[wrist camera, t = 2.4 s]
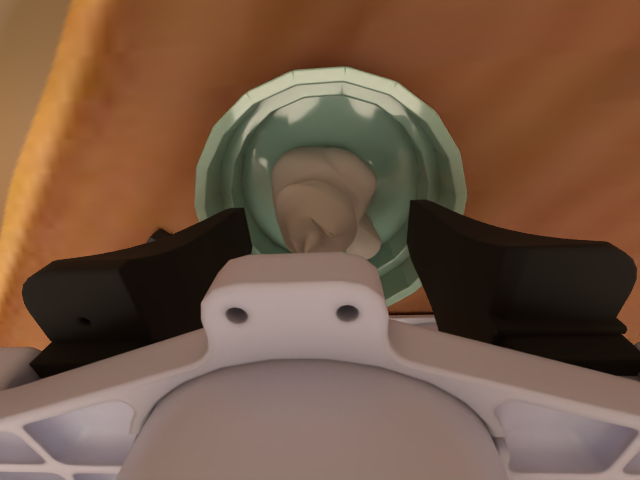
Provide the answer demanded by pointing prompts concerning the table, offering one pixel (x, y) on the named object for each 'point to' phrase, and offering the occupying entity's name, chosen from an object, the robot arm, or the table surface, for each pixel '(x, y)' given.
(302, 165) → the rubber duck
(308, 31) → the table surface
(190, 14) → the table surface
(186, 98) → the table surface
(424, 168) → the bowl
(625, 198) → the table surface
